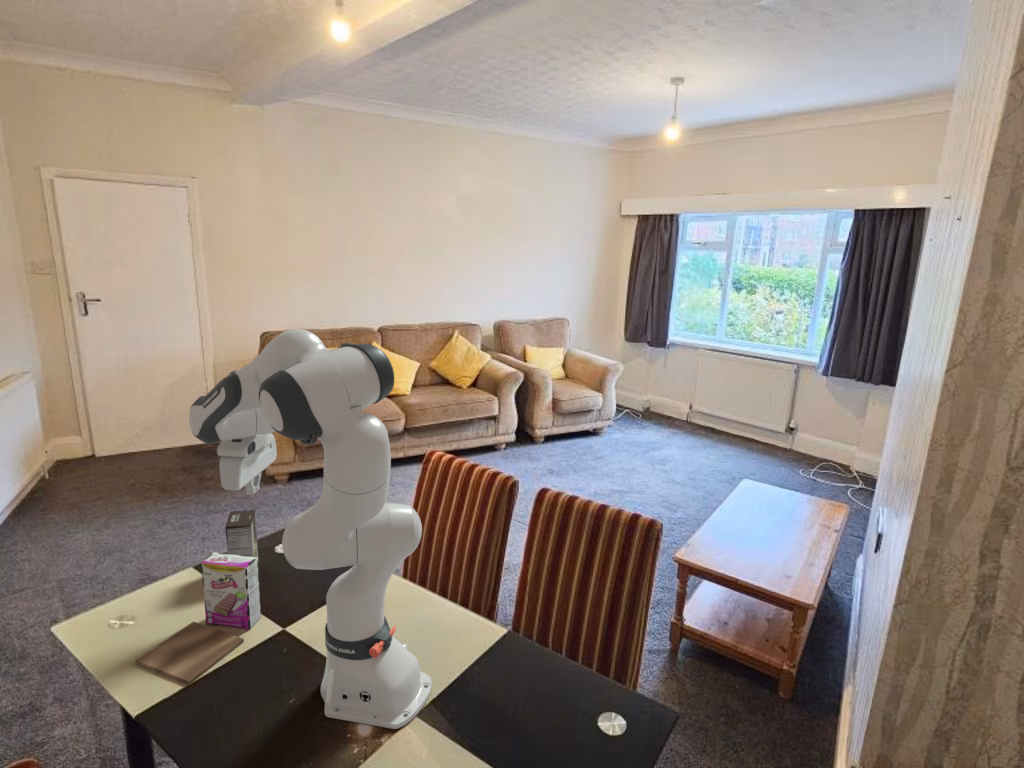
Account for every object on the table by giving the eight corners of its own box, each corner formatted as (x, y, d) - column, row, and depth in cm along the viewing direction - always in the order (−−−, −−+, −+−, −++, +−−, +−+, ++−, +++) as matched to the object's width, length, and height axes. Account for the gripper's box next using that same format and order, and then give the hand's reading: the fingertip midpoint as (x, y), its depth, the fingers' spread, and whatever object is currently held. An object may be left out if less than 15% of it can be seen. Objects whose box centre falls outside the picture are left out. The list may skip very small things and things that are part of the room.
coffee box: (233, 564, 156) (230, 510, 152) (259, 561, 158) (255, 508, 154) (228, 582, 147) (224, 526, 144) (255, 579, 149) (251, 524, 146)
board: (243, 641, 126) (243, 638, 126) (189, 684, 113) (188, 681, 113) (193, 624, 131) (193, 621, 130) (135, 663, 118) (135, 660, 118)
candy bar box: (204, 625, 130) (199, 562, 127) (218, 612, 135) (213, 551, 132) (250, 631, 129) (246, 567, 126) (262, 617, 134) (258, 555, 131)
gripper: (256, 423, 140) (260, 474, 143) (212, 451, 120) (217, 510, 123) (282, 424, 140) (284, 476, 143) (241, 452, 120) (245, 512, 123)
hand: (252, 492), depth 133 cm, fingers closed
